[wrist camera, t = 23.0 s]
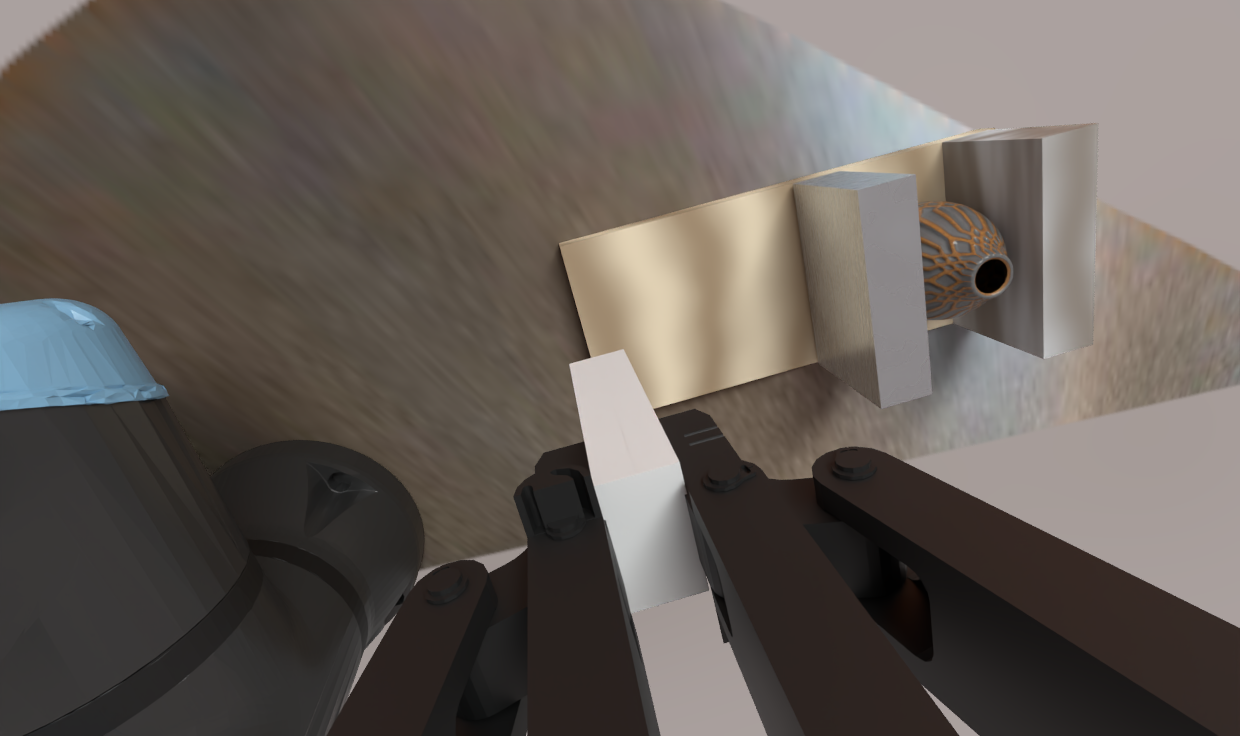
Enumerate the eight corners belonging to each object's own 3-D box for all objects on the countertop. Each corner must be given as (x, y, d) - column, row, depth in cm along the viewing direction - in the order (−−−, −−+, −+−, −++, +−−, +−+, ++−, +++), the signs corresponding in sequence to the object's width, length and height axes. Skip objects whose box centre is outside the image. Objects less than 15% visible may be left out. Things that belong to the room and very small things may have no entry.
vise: (606, 412, 43) (625, 480, 34) (558, 243, 38) (566, 269, 30) (985, 304, 44) (1101, 342, 35) (978, 128, 40) (1107, 120, 31)
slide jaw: (818, 363, 42) (881, 409, 34) (792, 183, 37) (857, 190, 30) (860, 351, 42) (932, 394, 34) (839, 171, 38) (915, 174, 30)
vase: (833, 292, 40) (910, 327, 32) (870, 186, 38) (961, 193, 30) (924, 313, 42) (1021, 351, 33) (964, 211, 40) (1077, 225, 32)
